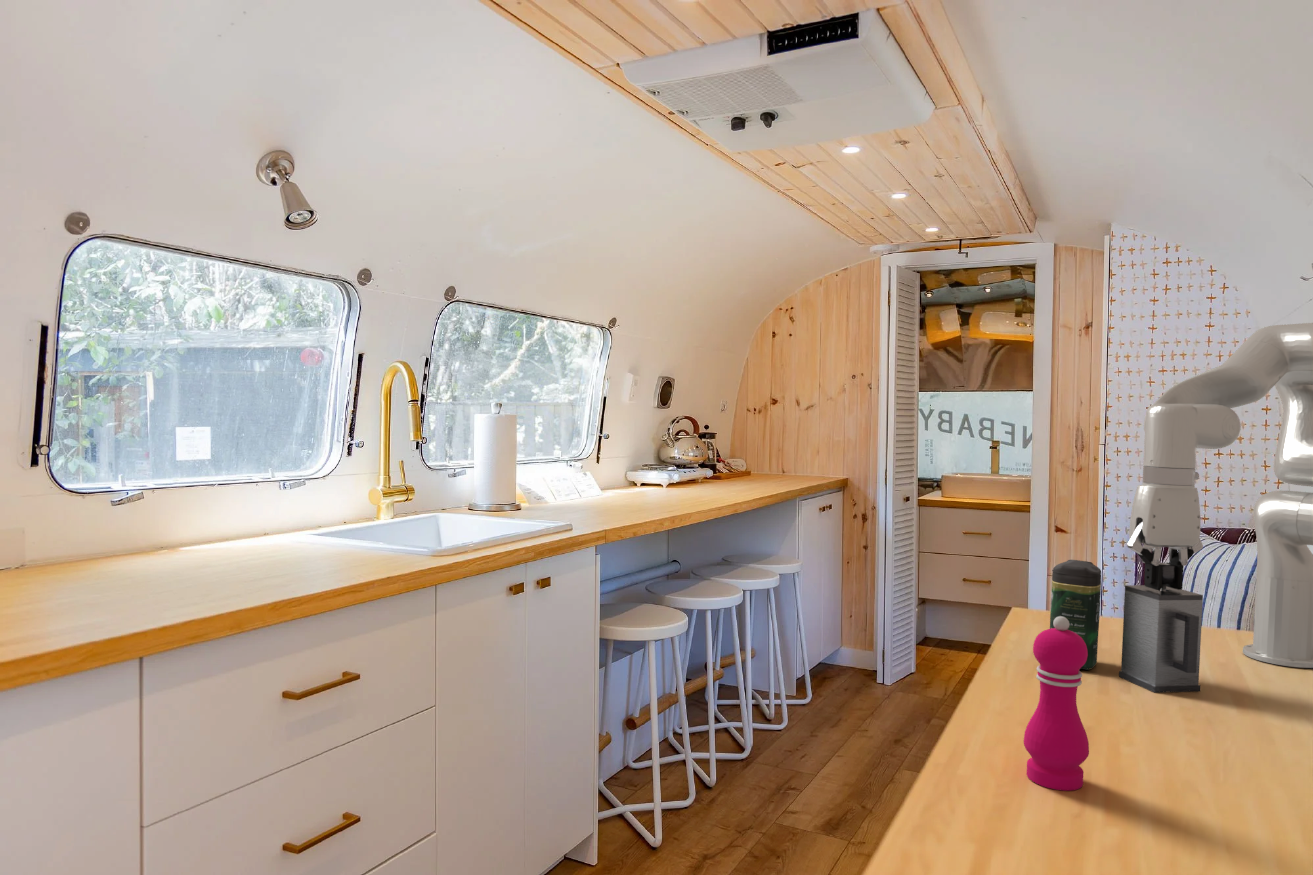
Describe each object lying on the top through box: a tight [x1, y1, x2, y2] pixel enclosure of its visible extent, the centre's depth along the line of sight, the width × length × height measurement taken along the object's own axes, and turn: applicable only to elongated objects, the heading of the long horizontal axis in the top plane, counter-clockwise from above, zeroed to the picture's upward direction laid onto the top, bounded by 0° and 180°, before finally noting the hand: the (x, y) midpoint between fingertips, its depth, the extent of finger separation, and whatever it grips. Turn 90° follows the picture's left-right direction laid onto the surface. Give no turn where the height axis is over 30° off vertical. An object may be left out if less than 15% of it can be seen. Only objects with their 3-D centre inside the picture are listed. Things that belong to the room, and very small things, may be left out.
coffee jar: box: [1049, 559, 1102, 671], centre depth 157 cm, size 10×8×19 cm
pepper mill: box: [1023, 616, 1090, 792], centre depth 106 cm, size 7×7×20 cm
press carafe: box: [1118, 584, 1204, 694], centre depth 145 cm, size 8×11×16 cm
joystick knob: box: [1159, 562, 1175, 591], centre depth 147 cm, size 6×6×14 cm
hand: (1163, 586), depth 146 cm, fingers closed on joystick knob, 3 cm apart
